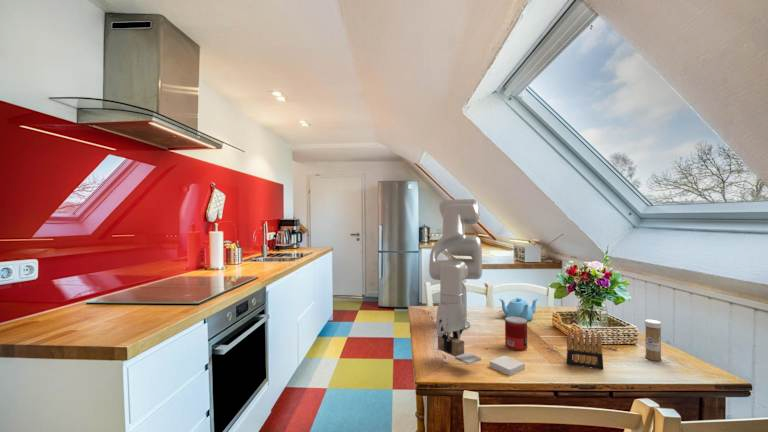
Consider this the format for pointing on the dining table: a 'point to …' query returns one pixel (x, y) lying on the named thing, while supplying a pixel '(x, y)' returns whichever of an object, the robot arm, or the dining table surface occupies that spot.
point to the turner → (458, 350)
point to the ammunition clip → (594, 353)
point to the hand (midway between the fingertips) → (451, 350)
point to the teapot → (519, 308)
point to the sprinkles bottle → (653, 340)
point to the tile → (507, 365)
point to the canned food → (516, 333)
